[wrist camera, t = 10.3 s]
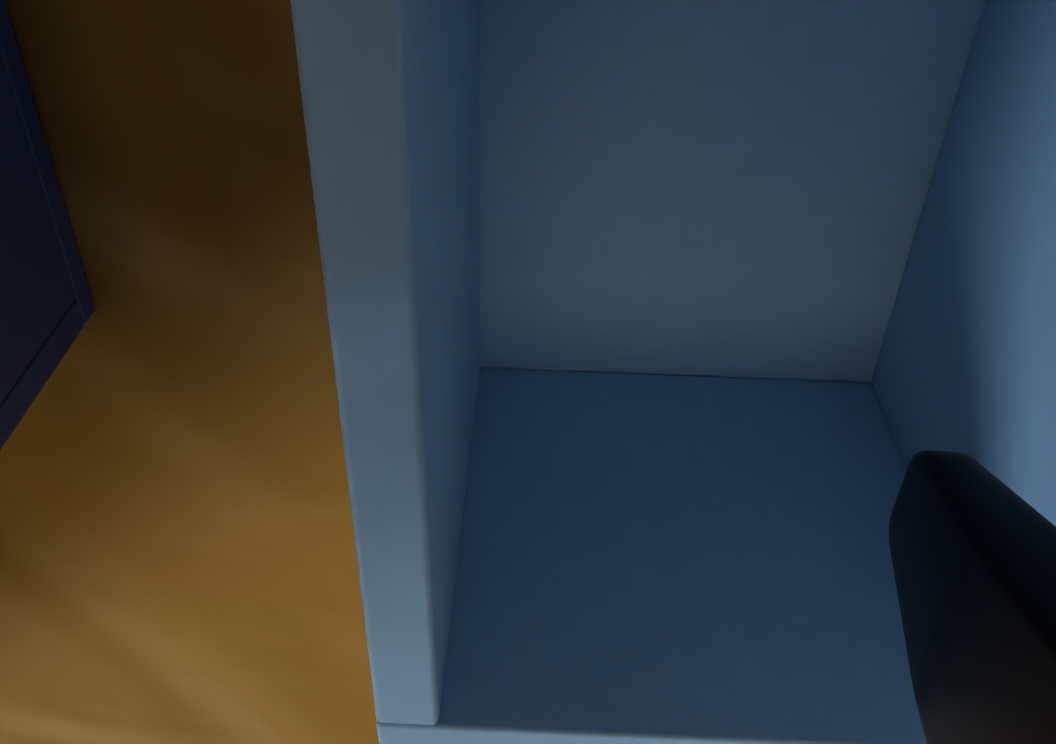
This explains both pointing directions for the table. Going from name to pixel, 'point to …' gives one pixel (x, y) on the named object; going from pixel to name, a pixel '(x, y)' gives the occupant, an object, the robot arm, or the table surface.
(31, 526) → the table surface
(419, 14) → the top bin
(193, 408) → the table surface
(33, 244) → the bottom bin
